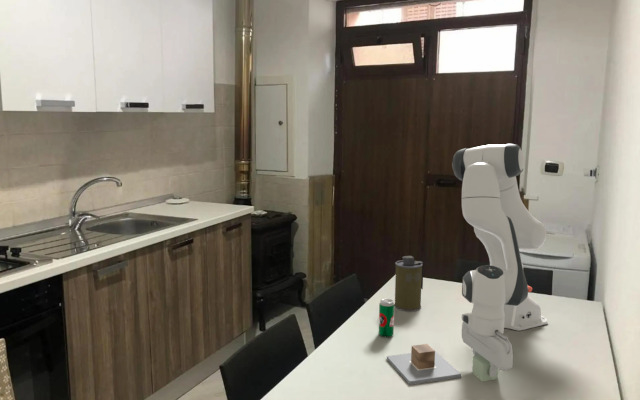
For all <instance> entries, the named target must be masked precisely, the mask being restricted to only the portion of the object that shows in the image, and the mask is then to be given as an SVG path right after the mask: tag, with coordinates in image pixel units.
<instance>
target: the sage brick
mask: <svg viewBox="0 0 640 400" xmlns="http://www.w3.org/2000/svg"><path fill="white" fill-rule="evenodd" d="M490 367H491V365H490V362H489V361H488V360H486V359H485V358H484V357H482V356H474V355H472V366H471V368H472V370H471V371H472V372H471V373H472V374H473V375H474V376H475V377H477V378H478V379H479V380H480V381H481V382H485V381H491V380H498V379H499V378H498V377H499V369H497V370H496V376H495V377H490V376H489V375H488V374H487V372H488V369H490Z"/></svg>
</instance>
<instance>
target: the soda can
mask: <svg viewBox="0 0 640 400" xmlns="http://www.w3.org/2000/svg"><path fill="white" fill-rule="evenodd" d="M394 304H395V302H394V300H392V299H390V298H383V299H382V298H381V299H380V302H379V303H378V334H379V336H381V337H382V338H391V337H392V336H394V332H395V331H394V330H395V329H394V328H395V327H394V326H395V306H394Z"/></svg>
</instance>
